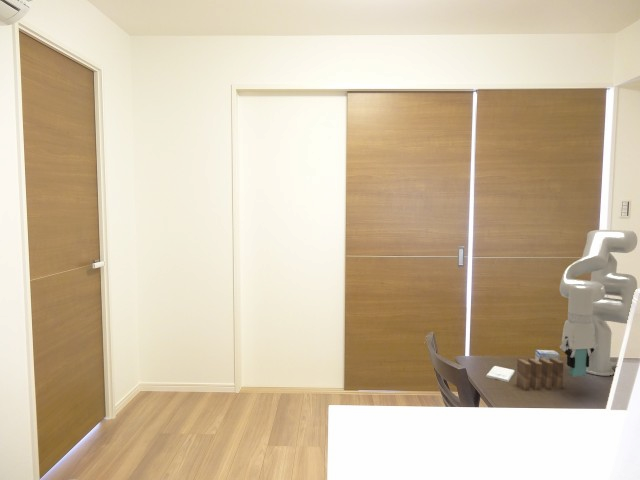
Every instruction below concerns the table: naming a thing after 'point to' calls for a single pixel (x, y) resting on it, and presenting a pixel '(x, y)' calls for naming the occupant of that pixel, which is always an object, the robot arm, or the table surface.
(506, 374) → the external hard drive
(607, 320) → the robot arm
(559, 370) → the tile
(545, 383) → the brown flat rectangular block
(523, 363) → the tile
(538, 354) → the medicine box
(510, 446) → the table surface
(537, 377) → the brown wooden block
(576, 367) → the tile
